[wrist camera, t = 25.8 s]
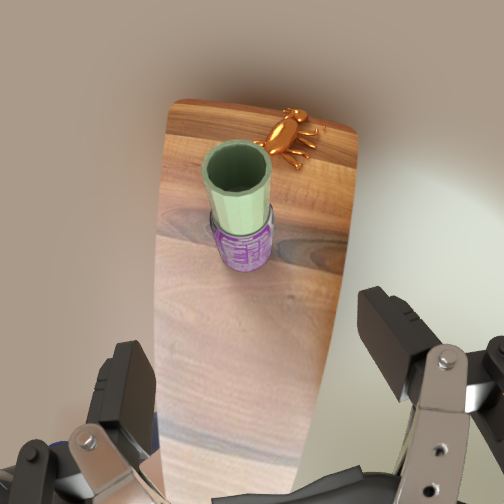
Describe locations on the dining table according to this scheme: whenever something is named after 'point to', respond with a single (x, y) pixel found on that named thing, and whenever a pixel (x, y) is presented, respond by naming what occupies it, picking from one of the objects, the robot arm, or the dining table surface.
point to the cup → (238, 185)
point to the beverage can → (244, 245)
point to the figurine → (288, 136)
